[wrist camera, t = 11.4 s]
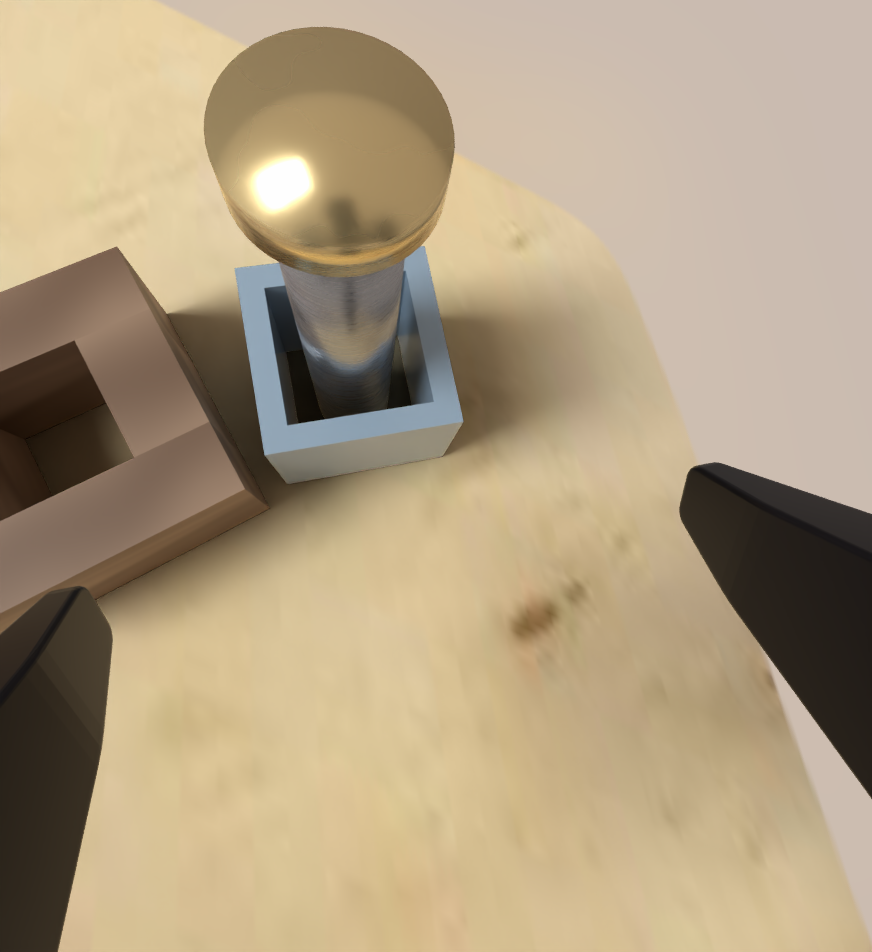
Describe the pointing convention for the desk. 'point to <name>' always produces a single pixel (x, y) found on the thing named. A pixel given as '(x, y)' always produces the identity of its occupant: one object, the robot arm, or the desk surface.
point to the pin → (334, 189)
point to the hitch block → (140, 421)
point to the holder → (360, 435)
